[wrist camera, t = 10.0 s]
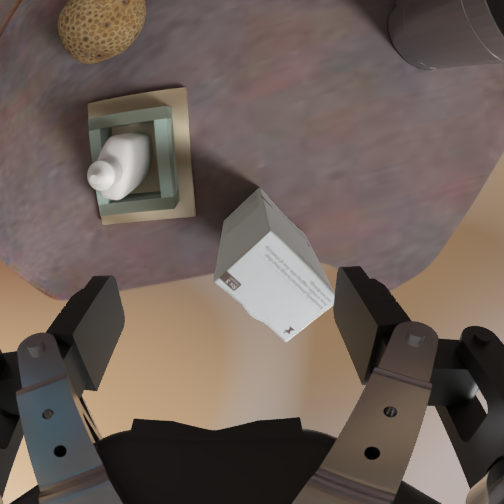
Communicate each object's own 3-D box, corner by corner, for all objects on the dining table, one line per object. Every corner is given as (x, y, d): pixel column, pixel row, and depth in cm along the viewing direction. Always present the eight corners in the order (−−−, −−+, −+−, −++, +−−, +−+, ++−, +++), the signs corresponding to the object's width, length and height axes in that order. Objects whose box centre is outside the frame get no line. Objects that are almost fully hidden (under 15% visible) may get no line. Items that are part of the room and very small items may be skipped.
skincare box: (305, 234, 37) (347, 301, 24) (268, 267, 39) (288, 348, 25) (256, 183, 35) (274, 227, 21) (217, 220, 36) (211, 285, 22)
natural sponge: (122, 83, 29) (84, 72, 20) (68, 49, 26) (21, 35, 17) (173, 18, 27) (154, -16, 17) (115, -13, 24) (83, -46, 15)
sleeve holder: (90, 103, 29) (73, 103, 25) (186, 88, 30) (180, 83, 26) (105, 222, 35) (91, 235, 31) (196, 213, 36) (192, 227, 31)
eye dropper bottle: (107, 165, 32) (55, 190, 21) (138, 125, 30) (94, 130, 19) (136, 190, 33) (95, 226, 22) (168, 150, 32) (138, 167, 21)
